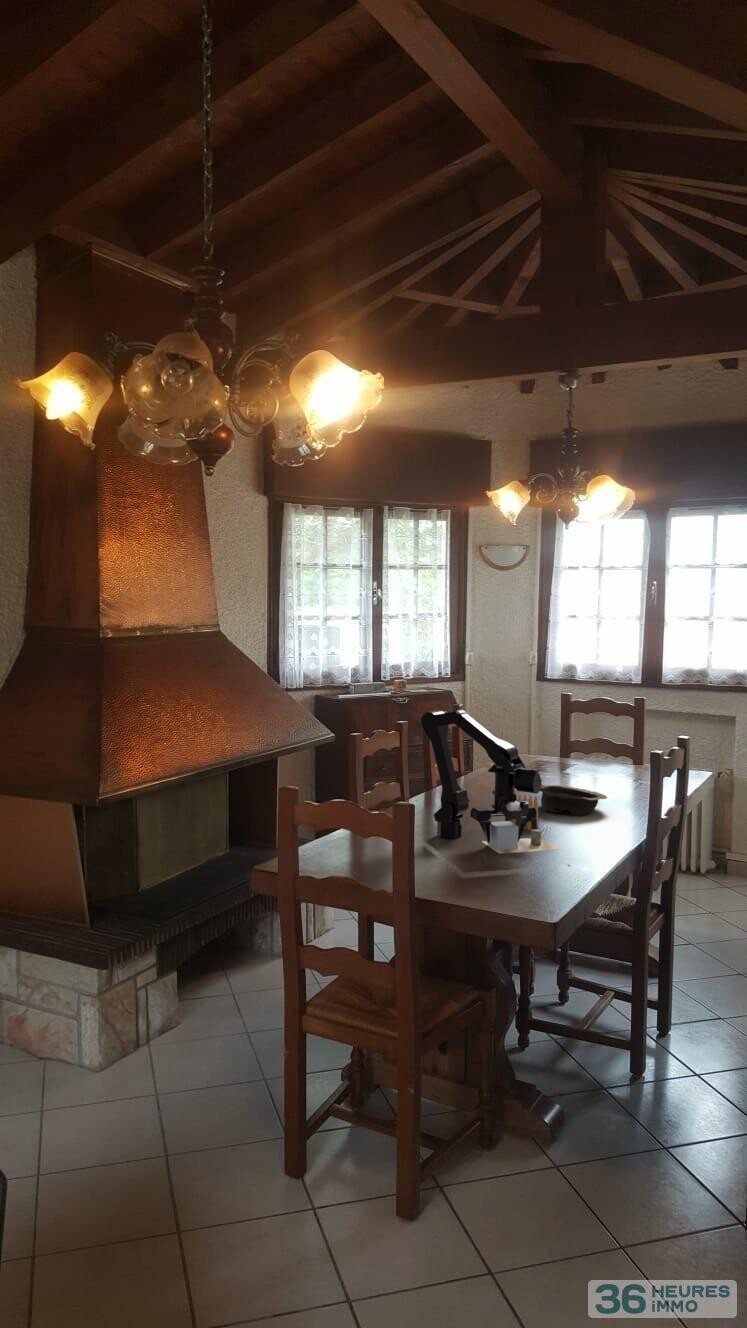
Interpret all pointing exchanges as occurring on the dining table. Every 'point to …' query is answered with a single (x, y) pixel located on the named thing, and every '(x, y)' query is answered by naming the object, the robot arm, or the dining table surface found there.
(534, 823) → the ammunition clip
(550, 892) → the dining table surface
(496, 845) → the pale grey cube
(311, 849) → the dining table surface
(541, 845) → the stub board
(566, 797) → the stone bowl
